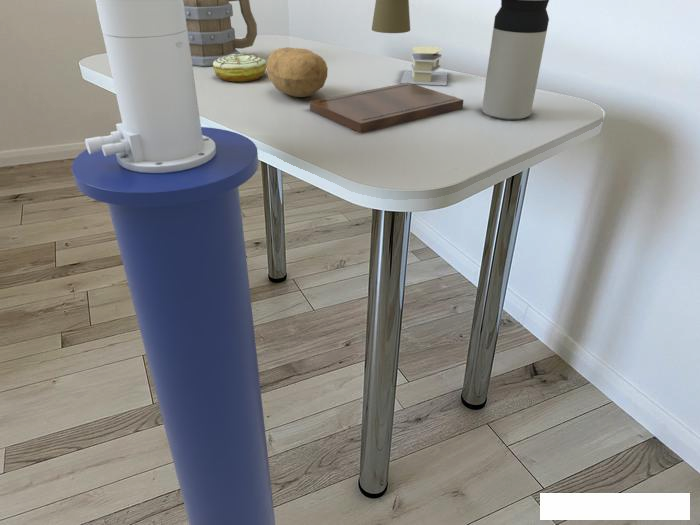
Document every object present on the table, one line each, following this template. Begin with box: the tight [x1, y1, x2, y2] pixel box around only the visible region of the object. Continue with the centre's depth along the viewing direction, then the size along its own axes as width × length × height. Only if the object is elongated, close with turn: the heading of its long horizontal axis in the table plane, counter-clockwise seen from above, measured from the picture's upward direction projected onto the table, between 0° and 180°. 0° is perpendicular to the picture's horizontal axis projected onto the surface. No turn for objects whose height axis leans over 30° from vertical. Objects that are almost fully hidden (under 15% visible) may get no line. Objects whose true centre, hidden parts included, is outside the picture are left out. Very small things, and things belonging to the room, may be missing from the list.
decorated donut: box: [212, 53, 267, 83], centre depth 108 cm, size 10×11×4 cm
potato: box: [266, 47, 329, 98], centre depth 96 cm, size 10×14×8 cm
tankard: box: [183, 0, 258, 67], centre depth 119 cm, size 20×13×15 cm, turn 114°
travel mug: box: [481, 0, 550, 121], centre depth 86 cm, size 8×8×18 cm
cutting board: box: [309, 82, 465, 134], centre depth 91 cm, size 22×14×2 cm, turn 127°
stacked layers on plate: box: [400, 46, 448, 86], centre depth 108 cm, size 10×9×6 cm
